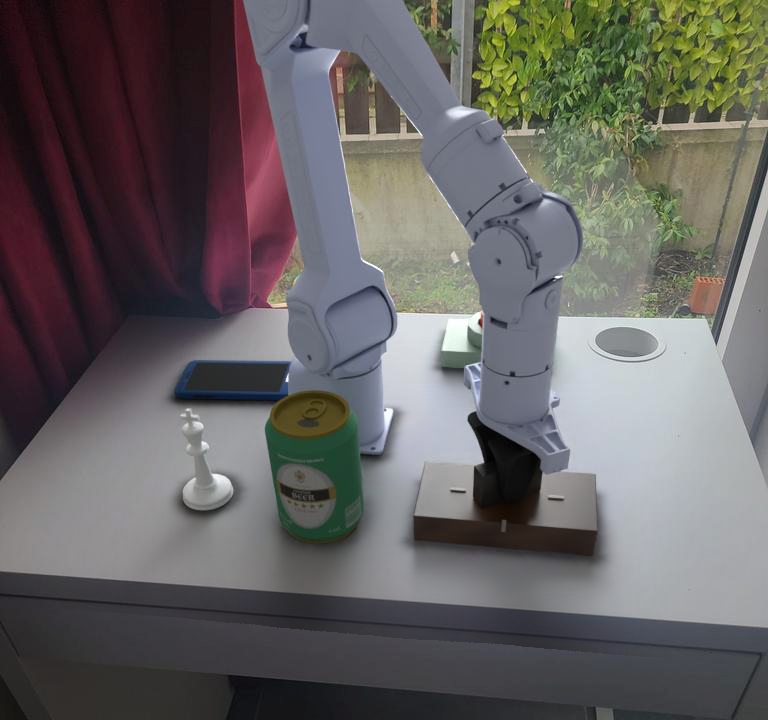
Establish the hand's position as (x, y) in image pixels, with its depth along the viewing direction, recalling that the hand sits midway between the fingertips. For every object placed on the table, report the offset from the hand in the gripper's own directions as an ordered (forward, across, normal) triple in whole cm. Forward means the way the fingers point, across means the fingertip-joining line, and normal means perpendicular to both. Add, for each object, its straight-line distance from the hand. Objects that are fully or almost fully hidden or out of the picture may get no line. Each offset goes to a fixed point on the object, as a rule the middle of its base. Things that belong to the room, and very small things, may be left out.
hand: (506, 490), depth 73 cm
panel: (+3, 0, 0) cm, 3 cm away
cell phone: (+3, +34, +17) cm, 38 cm away
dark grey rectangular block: (0, 0, 0) cm, 0 cm away
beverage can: (+4, +7, +16) cm, 17 cm away
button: (0, +27, -13) cm, 30 cm away
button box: (+3, +27, -13) cm, 30 cm away
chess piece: (+4, +15, +25) cm, 29 cm away
